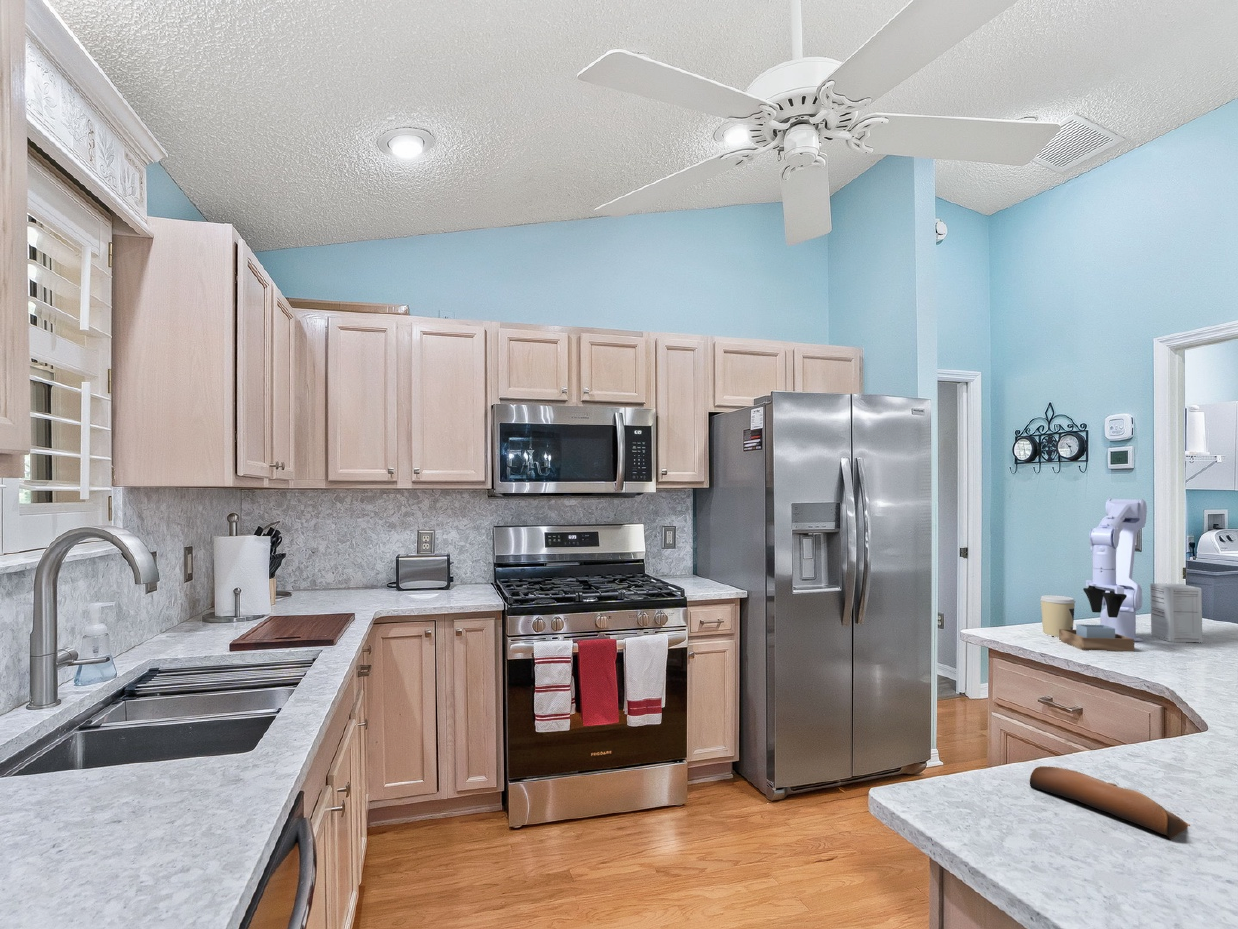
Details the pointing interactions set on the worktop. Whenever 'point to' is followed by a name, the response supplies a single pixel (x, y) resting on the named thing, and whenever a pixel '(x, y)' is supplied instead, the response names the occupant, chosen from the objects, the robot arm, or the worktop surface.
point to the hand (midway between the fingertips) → (1104, 614)
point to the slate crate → (1095, 631)
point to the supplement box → (1176, 612)
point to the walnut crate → (1096, 641)
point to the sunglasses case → (1108, 798)
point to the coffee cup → (1057, 613)
